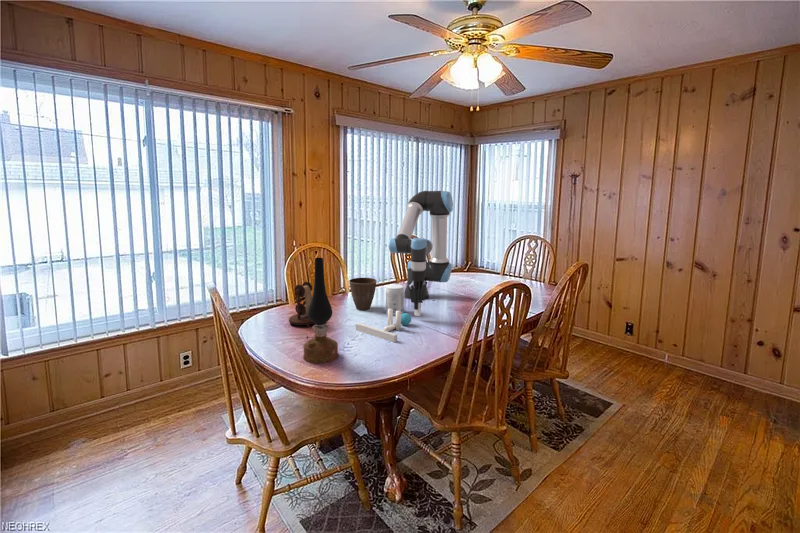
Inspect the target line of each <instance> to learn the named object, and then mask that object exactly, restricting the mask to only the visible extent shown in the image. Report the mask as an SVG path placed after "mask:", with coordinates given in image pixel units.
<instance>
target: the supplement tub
mask: <svg viewBox="0 0 800 533" xmlns="http://www.w3.org/2000/svg"><path fill="white" fill-rule="evenodd" d="M404 292H405V291H404V285H401V284H387V285H386V286H385V313H386V314H387V315H388V309H393V316H396V311H401V314H403V313H405V312H404V311H405V310H404V308H405V307H404V306H405V305H404V303H405V302H404V299H405V297H404Z"/></svg>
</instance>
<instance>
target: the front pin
mask: <svg viewBox="0 0 800 533" xmlns="http://www.w3.org/2000/svg"><path fill="white" fill-rule="evenodd" d="M393 329H394V330H396V323H393V325H389V326H388V325H387V326H384V327H383V330H384V331H387V332H391V331H394V330H393Z"/></svg>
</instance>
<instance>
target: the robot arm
mask: <svg viewBox="0 0 800 533" xmlns="http://www.w3.org/2000/svg"><path fill="white" fill-rule="evenodd" d="M453 209H454V202H453V196H452V194H451V192H450V191H446V190H422V191H419V192H417V193H415V195H413V196H412V197H411V198H410V200H409V201H408V203H407V204H406V212H405V214H404V217H403V219H402V222H401V224H400V226H399V230H398V232H397V234H396V237H393V238H390V239H389V241H388V249H389V251H390V253H392V254H404V255H405V254H407V255H410V260H409V261H408V262H407V268H406V269H407V275H406V276H407V278H406V279H407V280H406V281H407V282H406V287H405V291H404V299H405V298H406V299H408V300H410V301H411V303H413V309H414V316H416V317H420V316H421V312H422V311H421V308H422V304H423V303H424V300H425V299H428V298H429V296H430V295H429V294H430V293H429V291H428V286H427V285H428V282H433V283H434V282H435V283H447V282H449V280H450V278H451V273H452V270H453V268H452V267H453V266H452V263H451V262H450V259H449V258H448V257H447V247H448V246H447V245H448V244H447V242H448V239H447V238H448V237H447V234H448V217H449V216H450V214H451V213H452V212H453ZM423 212H429V216H430V217H431V219H432V220H431V221H432V222H431V226H432V227H431V232H432V233H431V240H430V239H427V238H423V237H414V238H412V236H413V233H414V231H415V228H416V226H417V223H418V220H419V217H420V215H422V213H423ZM430 253H431V258H430V259H429V261H428V260H427V255H428V254H430Z"/></svg>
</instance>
